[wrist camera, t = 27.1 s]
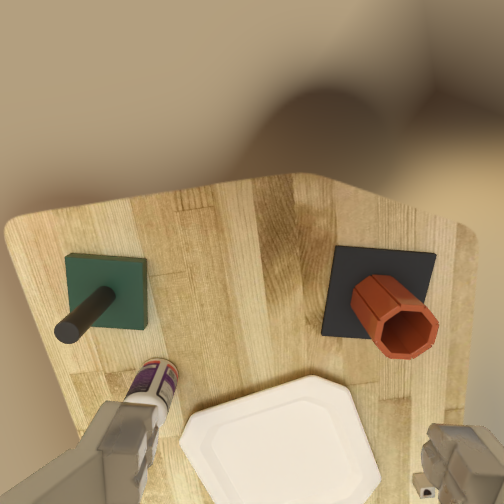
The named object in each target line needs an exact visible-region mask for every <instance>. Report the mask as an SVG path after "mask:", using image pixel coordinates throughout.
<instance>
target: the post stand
mask: <svg viewBox="0 0 504 504" xmlns="http://www.w3.org/2000/svg"><path fill="white" fill-rule="evenodd" d="M65 265H66V276H67V286H68V296H69V306H70V313H69V314H68V315H67V316H66V317H65V318H64V319H63V320H61V321H60V322H59V323H58V324H57V325H56V326H55V329H54V334H55V336H56V338H57V339H58V340H59V341H61V342H63V343H65V344H72V343H75V342H76V341H78V340H79V338H80V337H81V336H82V335H83V334H84V333H85V332H86V331H87V330H88V329H89V328H90V327H104V328H119V329H133V330H144V329H145V328H146V326H147V324H148V323H147V267H146V259H143V258H129V257H116V256H103V255H90V254H77V253H71V254H69V255H67V256H65Z"/></svg>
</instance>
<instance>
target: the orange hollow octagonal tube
mask: <svg viewBox="0 0 504 504" xmlns="http://www.w3.org/2000/svg"><path fill="white" fill-rule="evenodd" d="M350 305H351V308H352V309H353V311H354V312H355V314H356V316H357V317H358V319H359V320H360V322H361V323H362V325H363V327H364V328H365V330H366V331H367V333H368V334H369V336H370V337H371V339H372V341H373V342H374V344H375V345H376V346H377V347H378V348H379V349H380V350H381V352H382V353H383V354H384V355H385V356H386V357H388V358H390V359H406V360H411V357H412V358H413V359H414V358H416V357H417V356H419V355H420V354H422V353H423V352H425V351H426V350H428V349H429V348H431V347H432V345H431V344H434V342H435V339H436V335H437V331H438V328H439V324H438V323H439V322H438V320H437V319H436V318H435V317H434V315H433V314H432V313H431V311H430V310H429V309H428V308H427V307H426V306H425V305H424V304H423V303H422V302H421V301H420V300H419V299H417V298H416V297H415V296H414V295H413V294H412V293H411V292H410V291H408V290H407V289H406V288H405V287H404V286H403V285H402V284H400V283H399V282H398V281H397V280H396V279H395V278H394V277H392V276H389V275H374V274H372V277H371V276H370V275H369V276H368V277H367V278H365V279H364V280H363V281H361V282H360V283H359V284H357V285H356V286H355V288H353V293H352V299H351V304H350Z"/></svg>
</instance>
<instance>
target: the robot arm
mask: <svg viewBox="0 0 504 504" xmlns="http://www.w3.org/2000/svg"><path fill="white" fill-rule="evenodd" d="M158 416H159V415H158V406H157V405H152V404H141V403H131V402H115V401H105V402H104V403H103V404H102V405H101V406H100V408H99V410H98V411H97V413H96V415H95V416H94V418H93V420H92V421H91V423H90V425H89V426H88V428H87V430H86V431H85V433H84V435H83V436H82V438H81V440H80V441H79V443H78V445H77V446H76V448H75V449H68V450H67V451H65V452H64V453H63V454H61V455H60V456H58V457H57V458H55V459H54V460H52V461H51V462H49V463H48V464H46V465H45V466H44V467H42V468H41V469H39V470H38V471H36V472H35V473H33V474H32V475H30V476H29V477H27V478H26V479H25V480H23V481H22V482H20V483H19V484H17V485H16V486H14V487H13V488H11V489H10V490H9V491H7V492H6V493H4V494H3V495H1V496H0V504H140V501H141V498H142V495H143V492H144V489H145V486H146V483H147V469H148V468H149V467H150V466H151V465H152V464H153V460H154V457H155V454H156V449H157V444H158V435H159V428H158V426H157V425H156V421H157V419H158ZM427 435H428V437H429V439H430V440H429V441H428V442H426V443H425V444H424V445H423V447H422V451H421V462H422V467H423V470H424V473H425V475H426V477H427V479H428V481H429V482H430V483H431V484H432V485H433V486H434V487H436V488H437V489H438V490H439V493H438V499H439V501H440V503H441V504H504V446H503V445H502V444H501V443H500V442H499V441H498V440H497V438H496V437H495V436H494V435H493V434H492V433H491V431H490V430H488V429H487V428H486V427H484V426H472V425H466V426H464V425H453V424H435V423H432V424H431V425H430V426H429V428H428V431H427Z"/></svg>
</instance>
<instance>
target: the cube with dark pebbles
mask: <svg viewBox="0 0 504 504" xmlns="http://www.w3.org/2000/svg"><path fill="white" fill-rule="evenodd" d="M413 485H414V487H415V489H416V491H417V493H418V495H419V497H420V499H422V498H434V497H435V487H434V486H433V485H432V484H431V483H430V482H429V481H428V479H427V477H426V475H425V473H417V474H413Z"/></svg>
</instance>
